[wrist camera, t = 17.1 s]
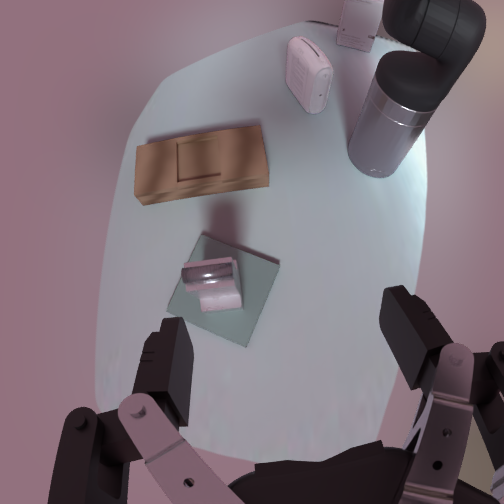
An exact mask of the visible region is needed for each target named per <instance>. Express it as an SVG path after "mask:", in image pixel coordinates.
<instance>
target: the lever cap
mask: <svg viewBox="0 0 504 504" xmlns="http://www.w3.org/2000/svg"><path fill="white" fill-rule="evenodd" d="M181 274H182V280H183V283H184V284H186V292H188V293H190V294H191V295H193V296H195V297H196V298H198V299H200V305H201V312H203V313H205V314H214V313H223V312H231V311H240V310H244V307H243V299H242V291H241V283H240V274H239V266H238V264H237V261H236V260H233V259H232V257H226V258H218V259H211V260H203V261H195V262H188V263H184V268H182V271H181Z"/></svg>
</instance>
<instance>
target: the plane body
mask: <svg viewBox="0 0 504 504" xmlns="http://www.w3.org/2000/svg"><path fill="white" fill-rule="evenodd" d="M268 186H269V171H268V166H267V160H266V154H265V149H264V143H263V138H262V133H261V127H260V125H258V126H250V127H242V128H234V129H227V130H220V131H214V132H207V133H201V134H195V135H190V136H184V137H179V138H174V139H169V140H164V141H159V142H154V143H150V144H145V145H141V146H137V150H136V165H135V185H134V195H135V197H136V198H137V199H138V200H139V201H140V202H141V204H142V205H143V206H144V205H150V204H155V203H161V202H167V201H172V200H178V199H184V198H191V197H197V196H203V195H210V194H217V193H223V192H230V191H238V190H245V189H253V188H260V187H268Z"/></svg>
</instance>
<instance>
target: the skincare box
mask: <svg viewBox="0 0 504 504" xmlns="http://www.w3.org/2000/svg"><path fill="white" fill-rule="evenodd" d="M383 4H384V0H344V5H343V9H342V14H341V18H340V23H339V27H338V31H337V45H342V46H347V47H351V48H355V49H359V50H362V51H365V52H370V50H371V47H372V44H373V42H374V39H375V36H376V33H377V30H378V27H379V24H380V20H381V18H382V11H383Z"/></svg>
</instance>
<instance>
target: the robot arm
mask: <svg viewBox="0 0 504 504" xmlns="http://www.w3.org/2000/svg"><path fill="white" fill-rule="evenodd" d="M382 20H383V25H384V28H385V30H386V32H387V33H388V34H389V35H390V36H391V37H393V38H394V39H396V40H398V41H399V42H401V43H403V44H405V45H407V46H410V47H412V48H414V49H416V50H418V51H420V52H411V51H391V52H388V53H386V54H385V55H383V56H382V58H381V59H380V61H379V63H378V66H377V69H376V72H375V75H374V78H373V80H372V83H371V86H370V89H369V92H368V95H367V97H366V100H365V103H364V106H363V108H362V111H361V114H360V116H359V119H358V122H357V124H356V127H355V129H354V132H353V134H352V137H351V140H350V142H349V145H348V154H349V157H350V159H351V161H352V163H353V164H354V165H355V166H356V168H357V169H359V170H360V171H361V172H363V173H364V174H366V175H368V176H371V177H376V178H384V177H388V176H390V175H391V174H393V173H394V172H395V171H396V169H397V168H398V166H399V165H400V163H401V162H402V160H403V159H404V158H405V156H406V155H407V153H408V152H409V150H410V149H411V147H412V146H413V144H414V143H415V141H416V140H417V138H418V137H419V135H420V134H421V132H422V131H423V129H424V128H425V126H426V125H427V123H428V121H429V120H430V118H431V117H432V115H433V113H434V112H435V110H436V109H437V107H438V106H439V104H440V103H441V101H442V100H443V99H444V98H445V97H446V96H447V94H448V93H449V91H450V90H451V88H452V86H453V85H454V83H455V82H456V81H457V79H458V78H459V76H460V75H461V74H462V72H463V71H464V69H465V68H466V67H467V65H468V64H469V63H470V61H471V60H472V58H473V56H474V55H475V53H476V52H477V50H478V48H479V46H480V44H481V42H482V39H483V37H484V33H485V29H486V16H485V13H484V11H483V9H482V8H481V7H480V6H479V5H478V4H477V3H476V2H474V1H472V0H384V4H383V11H382ZM379 324H380V328H381V331H382V333H383V335H384V337H385V339H386V341H387V343H388V345H389V347H390V349H391V351H392V353H393V355H394V357H395V359H396V361H397V363H398V365H399V367H400V369H401V371H402V373H403V375H404V377H405V379H406V381H407V383H408V385H409V387H410V389H411V390H414V389H417V388H421V390H422V392H423V393H422V395H421V397H420V401H419V404H418V407H417V410H416V414H415V417H414V420H413V423H412V426H411V429H410V432H409V434H408V437H407V439H406V441H405V443H404V445H403V447H402V449H401V448H395V447H383V444H382V441H381V440H379V441H375V442H372V443H368V444H364V445H361V446H357V447H353V448H350V449H348V450H346V451H344V452H342V453H340V454H338V455H336V456H334V457H331V458H329V459H327V460H325V461H321V462H309V461H292V460H284V461H276V462H268V463H259V464H255V471H253V472H250V473H248V474H246V475H243V476H241V477H240V478H238V479H236V480H235V481H233V482H232V483H230V484H229V485H228V486H227V485H226V484H224V482H223V481H222V480H221V479H220V478H219V477H218V476H217V475H216V474H215V473H214V472H213V471H212V469H211V468H210V467H209V466H208V465H207V464H206V463H205V462H204V461H203V459H201V457H200V456H199V455H198V454H197V452H195V450H194V449H193V448H192V447H191V445H190V444H189V443H188V442H187V441H186V440H185V439H184V438H183V437H182V436H181V435H180V433H179V427H184V426H188V419H189V406H190V394H191V383H192V372H193V361H194V352H193V346H192V342H191V339H190V336H189V334H188V331H187V328H186V325H185V322H184V319H183V317H173V318H164V319H163V320H162V323H161V327H160V332H152V333H151V334H150V336H149V337H148V338H147V340H146V341H145V343H144V347H143V351H142V355H141V359H140V363H139V366H138V370H137V375H136V379H135V383H134V387H133V391H132V395H130V396H128V397H126V398H125V399H124V400H123V401H122V402H121V404H120V405H119V408H118V409H115V410H112V411H108V412H104V413H100V414H96V413H95V412H94V411H93V410H92V409H90V408H87V407H80V408H77V409H74V410H73V411H71V412H70V413H69V415H68V416H67V418H66V419H65V423H64V426H63V430H62V434H61V439H60V442H59V447H58V451H57V455H56V461H55V465H54V470H53V475H52V480H51V486H50V492H49V498H48V504H127V494H128V480H129V467H130V462H131V461H136V460H139V459H144V460H145V465H146V467H147V469H148V470H149V472H150V473H151V474H152V476H153V477H154V479H155V480H156V482H157V483H158V485H159V486H160V487H161V489H162V490H163V491H164V493H165V494H166V495H167V497H168V498H169V499H170V501H171V502H172V503H173V504H504V402H503V400H502V398H501V396H500V394H499V392H500V391H501V393H502V395H503V397H504V342H497V343H495V344H494V345H493V346H492V348H491V350H490V352H482V353H472V352H471V350H470V349H469V348H468V347H466V346H464V345H462V344H459V343H454V342H453V341H452V339H451V338H450V336H449V335H448V333H447V332H446V331H445V329H444V328H443V326H442V325H441V323H440V322H439V321H438V319H436V317H435V315H434V314H433V312H431V309H430V308H429V307H428V305H427V304H426V302H424V301H423V300H422V299H420V298H419V297H418V296H416V295H412V296H411V295H410V294H409V292H408V291H407V289H406V288H405V287H404V286H403V285H399V286H394V287H388V288H385V289H384V292H383V298H382V304H381V310H380V315H379ZM472 414H473V417H474V419H475V421H476V423H477V426H478V428H479V431H480V433H481V435H482V438H483V440H484V443H485V445H486V448H487V450H488V453H489V456H490V458H491V461H492V464H493V466H494V469H495V474H494V476H493V480H492V485H491V488H490V490H491V493H492V494H493V496H491V495H489V494H487V493H485V492H483V491H481V490H479V489H477V488H475V487H473V486H471V485H469V484H467V483H466V482H464V481H462V480H460V479H458V476H459V472H460V468H461V465H462V461H463V457H464V453H465V449H466V444H467V440H468V435H469V430H470V425H471V419H472Z"/></svg>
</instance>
